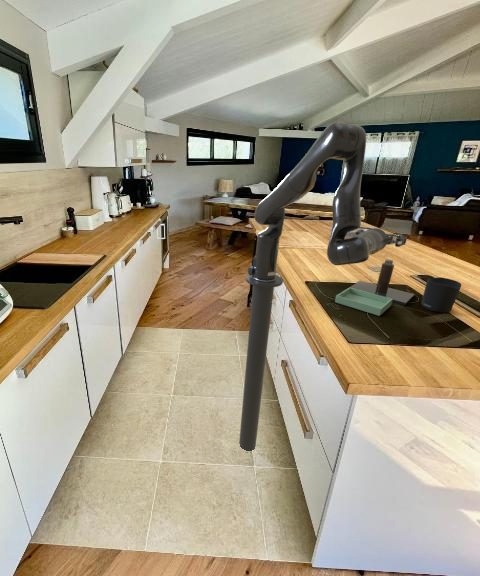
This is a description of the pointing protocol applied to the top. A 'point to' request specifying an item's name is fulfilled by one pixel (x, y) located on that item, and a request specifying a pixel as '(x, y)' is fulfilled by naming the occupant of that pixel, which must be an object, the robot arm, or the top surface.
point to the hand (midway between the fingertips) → (386, 234)
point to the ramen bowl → (353, 232)
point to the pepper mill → (385, 276)
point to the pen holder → (440, 294)
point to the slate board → (394, 294)
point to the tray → (364, 301)
